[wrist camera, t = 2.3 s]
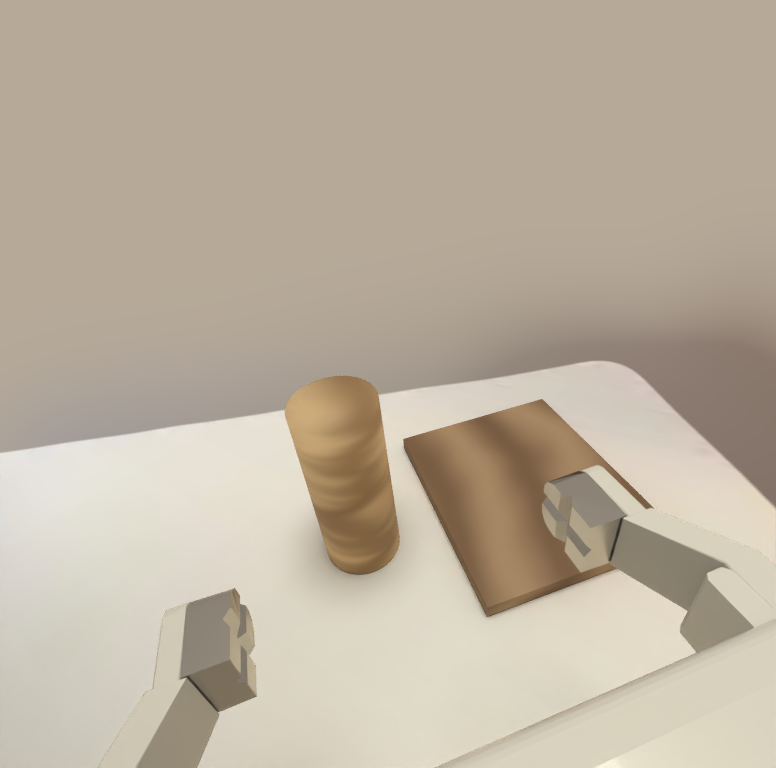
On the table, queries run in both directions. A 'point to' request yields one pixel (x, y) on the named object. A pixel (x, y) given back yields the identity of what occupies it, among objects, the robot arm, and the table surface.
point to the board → (505, 498)
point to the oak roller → (346, 470)
